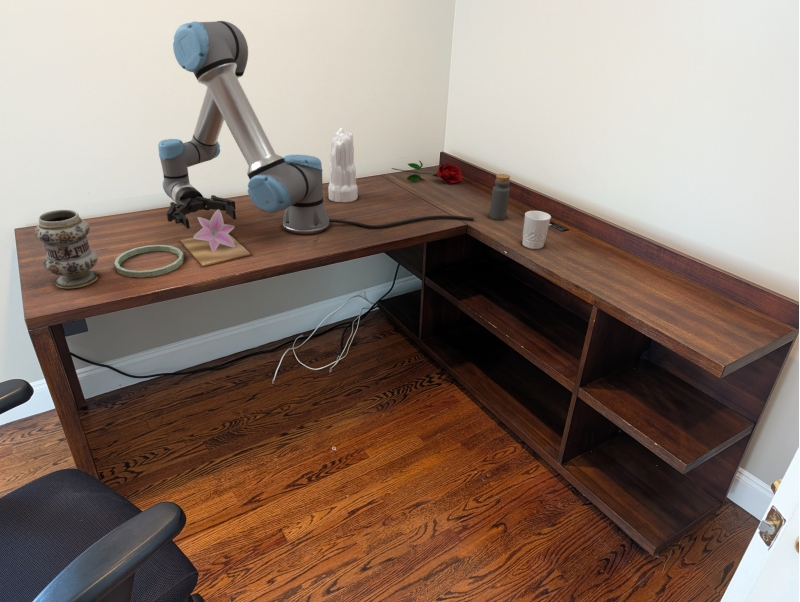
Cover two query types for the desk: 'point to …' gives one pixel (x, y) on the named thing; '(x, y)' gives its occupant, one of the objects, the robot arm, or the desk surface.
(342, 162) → the white crystal cluster
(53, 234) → the apothecary jar
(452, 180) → the flower
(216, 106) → the robot arm
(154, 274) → the pale green bangle
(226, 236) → the lily
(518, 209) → the desk surface
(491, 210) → the bottle
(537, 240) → the white cup
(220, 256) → the tan wooden board
